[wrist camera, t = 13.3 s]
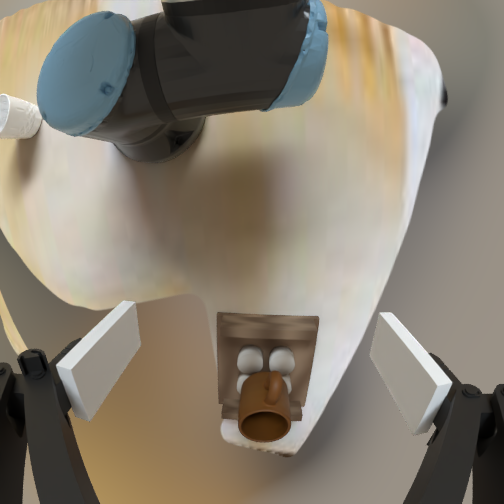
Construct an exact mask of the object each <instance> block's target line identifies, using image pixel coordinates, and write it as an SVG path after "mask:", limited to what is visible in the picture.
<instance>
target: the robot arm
mask: <svg viewBox="0 0 504 504" xmlns="http://www.w3.org/2000/svg"><path fill="white" fill-rule="evenodd" d="M161 2H162V6H163V10H164V12H161V13H157V14H153V15H150V16H146V17H143V18H139V19H136V20H133V21H130V20H129V19H128V18H127V17H126V16H124V15H122V14H115V13H113V12H110V11H102V12H97V13H93V14H90V15H88V16H86V17H84V18H82V19H80V20H79V21H77V22H76V23H74V24H73V25H72V26H71V27H69V28H68V29H67V30H66V31H65V32H64V33H63V34H62V35H61V36H60V38H59V39H58V40H57V41H56V43H55V44H54V45H53V47H52V49H51V51H50V53H49V54H48V55H47V57H46V59H45V61H44V63H43V66H42V68H41V71H40V75H39V79H38V84H37V103H38V108H39V111H40V114H41V116H42V118H43V119H44V120H45V121H46V122H47V123H48V124H49V126H51V127H52V128H54V129H56V130H59V131H61V132H64V133H66V134H68V135H70V136H74V137H76V136H82V137H87V138H92V139H97V140H102V141H107V142H112V143H114V145H115V146H116V148H117V149H118V150H119V151H120V152H121V153H122V154H124V155H125V156H127V157H129V158H131V159H133V160H136V161H140V162H147V163H158V162H164V161H167V160H170V159H172V158H175V157H176V156H178V155H180V154H181V153H183V152H184V151H185V150H186V149H188V148H189V147H190V146H191V145H192V143H193V142H194V141H195V140H196V138H197V137H198V135H199V133H200V131H201V129H202V127H203V124H204V121H205V116H211V115H218V114H226V113H233V112H242V111H251V110H260V111H262V112H267V111H270V110H272V109H275V108H284V107H294V106H299V105H302V104H304V103H305V102H306V101H308V100H310V99H311V98H312V97H313V95H314V94H315V92H316V91H317V89H318V87H319V85H320V82H321V80H322V77H323V73H324V69H325V65H326V59H327V51H328V34H327V33H326V27H327V16H326V12H325V9H324V6H323V4H322V2H321V1H320V0H161ZM140 346H141V342H140V334H139V327H138V319H137V310H136V302H133V301H125V300H123V301H122V302H121V303H120V304H119V305H118V306H117V307H116V308H114V309H113V310H112V311H111V312H110V313H109V314H108V315H107V316H106V317H105V318H104V319H103V320H102V321H101V322H100V323H99V324H98V325H96V326H95V327H94V328H93V329H92V330H91V331H90V332H89V333H88V334H87V335H86V336H85V337H84V338H83V339H82V338H79V339H77V340H75V341H72V342H71V343H70V344H69V345H68V346H67V347H65V349H63V350H62V351H61V353H59V354H58V355H57V356H56V357H55V358H54V359H53V360H52V361H51V362H50V363H49V364H48V361H47V358H46V355H45V353H44V351H42V350H39V349H29V350H26V351H24V352H22V353H21V354H20V355H19V356H18V359H17V360H18V363H19V366H20V369H21V371H22V374H15V373H13V371H12V368H11V366H10V365H9V364H8V363H0V504H22V496H23V478H24V467H25V458H26V450H27V443H28V446H29V454H30V460H31V465H32V471H33V476H34V481H35V485H36V489H37V493H38V497H39V501H40V504H100V502H99V500H98V498H97V496H96V493H95V491H94V489H93V486H92V484H91V481H90V479H89V477H88V474H87V471H86V468H85V466H84V463H83V460H82V457H81V454H80V451H79V448H78V445H77V442H76V438H75V435H74V432H73V428H72V425H71V421H70V418H69V416H68V413H67V412H68V411H69V410H70V408H71V407H72V410H73V412H74V414H75V417H78V418H81V419H84V420H86V421H91V420H92V418H93V416H94V415H95V413H96V412H97V410H98V409H99V407H100V406H101V404H102V402H103V401H104V400H105V398H106V396H107V395H108V393H109V392H110V390H111V389H112V387H113V386H114V384H115V383H116V381H117V380H118V378H119V377H120V375H121V374H122V372H123V371H124V370H125V368H126V367H127V365H128V364H129V362H130V360H131V359H132V358H133V356H134V355H135V353H136V352H137V350H138V349H139V348H140ZM369 356H370V358H371V359H372V361H373V363H374V365H375V366H376V368H377V370H378V371H379V373H380V375H381V377H382V379H383V381H384V382H385V384H386V386H387V388H388V390H389V391H390V393H391V395H392V397H393V399H394V401H395V403H396V404H397V406H398V408H399V410H400V412H401V414H402V416H403V418H404V419H405V422H406V423H407V425H408V427H409V429H410V431H411V433H412V435H413V436H414V435H418V434H422V433H426V432H428V430H429V429H430V427H431V425H432V423H434V425H435V426H436V430H435V431H434V433H433V435H432V436H431V438H430V440H429V442H428V443H427V445H428V446H429V447H428V449H427V452H426V454H425V457H424V459H423V462H422V464H421V466H420V469H419V471H418V473H417V476H416V478H415V480H414V482H413V484H412V486H411V488H410V491H409V492H408V494H407V496H406V498H405V500H404V502H403V504H462V501H463V498H464V495H465V492H466V488H467V485H468V481H469V477H470V473H471V469H472V471H473V500H472V501H473V502H472V503H473V504H504V384H499V385H497V386H496V388H495V390H494V392H493V394H482V392H481V391H480V389H478V388H477V387H475V386H473V385H471V384H461V382H460V381H459V380H458V379H457V378H456V377H455V375H454V374H453V373H452V372H451V371H450V370H449V369H448V367H447V366H446V365H444V363H443V362H442V361H441V359H440V358H439V357H437V356H435V355H434V354H432V353H427V352H426V351H425V350H424V348H423V347H422V346H421V345H420V344H419V343H418V342H417V340H416V339H415V338H414V337H413V336H412V335H411V334H410V332H409V331H408V330H407V329H406V328H405V327H404V326H403V325H402V324H401V322H400V321H399V320H398V319H397V318H396V317H395V316H394V315H393V314H392V313H391V312H388V313H379V316H378V321H377V325H376V330H375V334H374V339H373V342H372V346H371V350H370V355H369Z"/></svg>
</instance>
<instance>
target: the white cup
mask: <svg viewBox="0 0 504 504" xmlns="http://www.w3.org/2000/svg"><path fill="white" fill-rule="evenodd" d="M41 121H42V116H41V114H40V111H39V108H38V106H37V105H34V104H31V103H30V102H27V101H25V100H21V99H19V98H16V97H13V96H9V95H6V94H1V95H0V139H20V138H21V139H27V138H31V137H32V136H33V135H35V134H36V132H37V131H38V129H39V127H40V124H41Z"/></svg>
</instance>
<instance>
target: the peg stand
mask: <svg viewBox="0 0 504 504" xmlns="http://www.w3.org/2000/svg"><path fill="white" fill-rule="evenodd" d="M318 326H319V317H318V316H285V315H258V314H238V313H221V312H218V313H217V357H218V392H219V393H218V394H219V404H223V408H222V418H223V419H236V420H238V412H239V402H240V394H241V387H242V384H243V382H244V381H245V379H246V378H248V377H249V376H251V375H252V374H255V373H258V372H272V371H275V370H276V371H279V372H280V373H281V375H282V378H283V379H284V381H285V382H286V384H287V388H288V395H289V403H290V412H291V421H301V420H302V410H301V407H304V406H305V401H306V396H307V391H308V385H309V380H310V375H311V369H312V363H313V357H314V351H315V345H316V339H317V332H318Z"/></svg>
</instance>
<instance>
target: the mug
mask: <svg viewBox="0 0 504 504" xmlns="http://www.w3.org/2000/svg"><path fill="white" fill-rule="evenodd" d="M238 428H239V431H240V432H241V434H242V435H243V436H244V437H246V438H247V439H250V440H252V441H256V442H272V441H276V440H279V439H281V438H283V437H284V436H285V435H286V434H287V433H288V432H289V430H290V428H291V412H290V403H289V395H288V388H287V384H286V382H285V381H284V379H283V378H282V375H281V373H280V372H279V371H276V370H275V371H272V372H258V373H255V374H252V375H251V376H249V377H248V378H246V379H245V381H244V382H243V384H242V387H241V394H240V402H239V412H238Z"/></svg>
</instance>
